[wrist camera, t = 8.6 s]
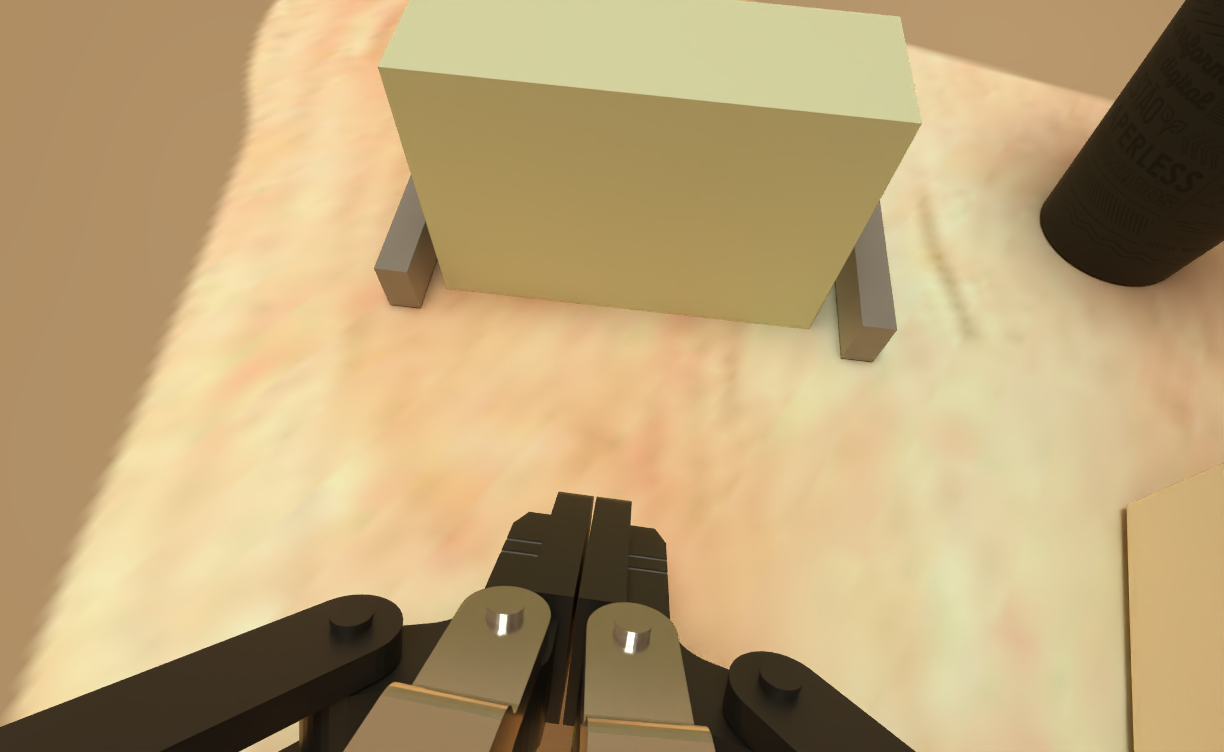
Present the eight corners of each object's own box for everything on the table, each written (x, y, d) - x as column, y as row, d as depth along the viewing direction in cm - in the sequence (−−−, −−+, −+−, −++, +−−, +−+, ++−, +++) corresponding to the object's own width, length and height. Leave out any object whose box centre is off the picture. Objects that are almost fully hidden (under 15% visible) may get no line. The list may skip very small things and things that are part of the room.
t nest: (845, 106, 26) (861, 66, 25) (872, 361, 20) (896, 329, 19) (477, 66, 27) (470, 24, 25) (390, 304, 20) (373, 268, 19)
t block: (797, 125, 26) (876, -101, 19) (808, 329, 21) (921, 123, 14) (504, 95, 26) (475, -140, 19) (446, 288, 21) (377, 66, 14)
